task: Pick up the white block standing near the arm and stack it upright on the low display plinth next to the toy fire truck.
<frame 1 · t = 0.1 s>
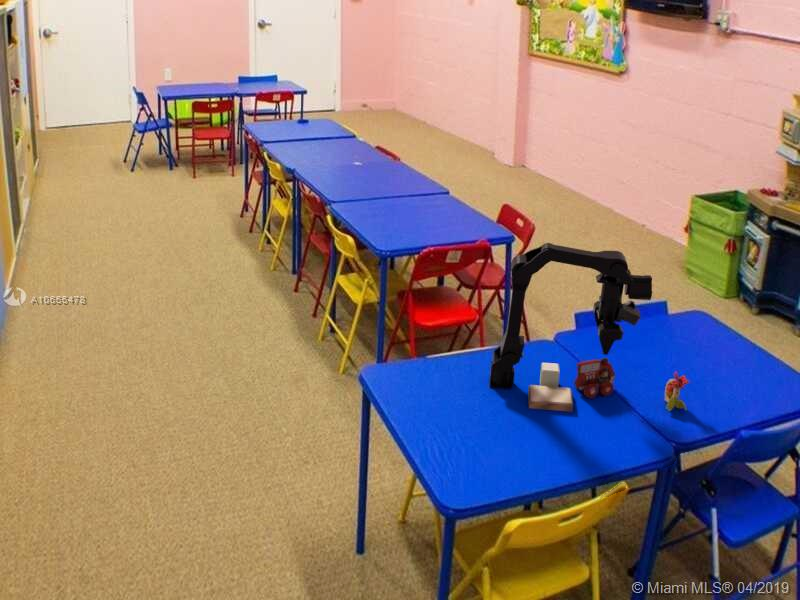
hand: (603, 346, 239), 15 cm above the table, fingers open, 9 cm apart
plinth: (549, 401, 239), on the table
toy fire truck: (593, 391, 245), on the table
white block: (548, 385, 247), on the table
bird rattle: (670, 406, 239), on the table
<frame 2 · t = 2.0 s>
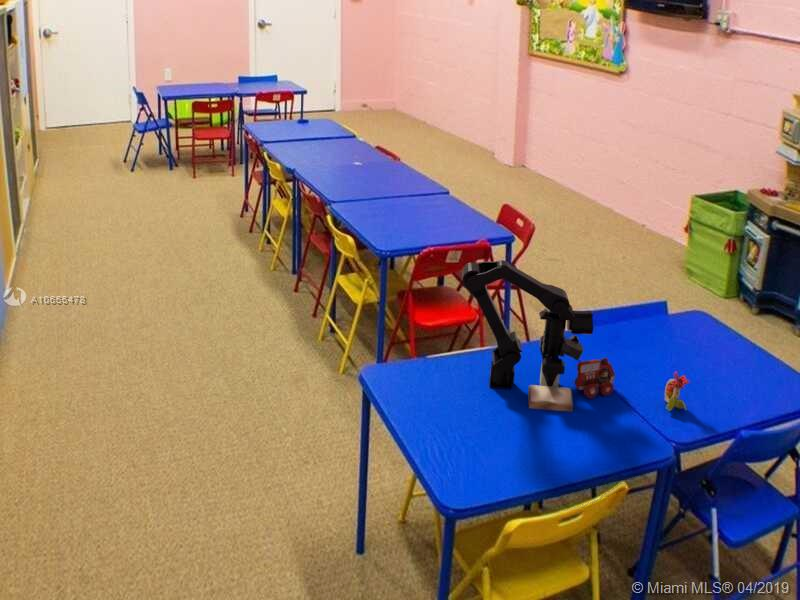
hand: (549, 379, 247), 2 cm above the table, fingers open, 8 cm apart
nothing on the table moved.
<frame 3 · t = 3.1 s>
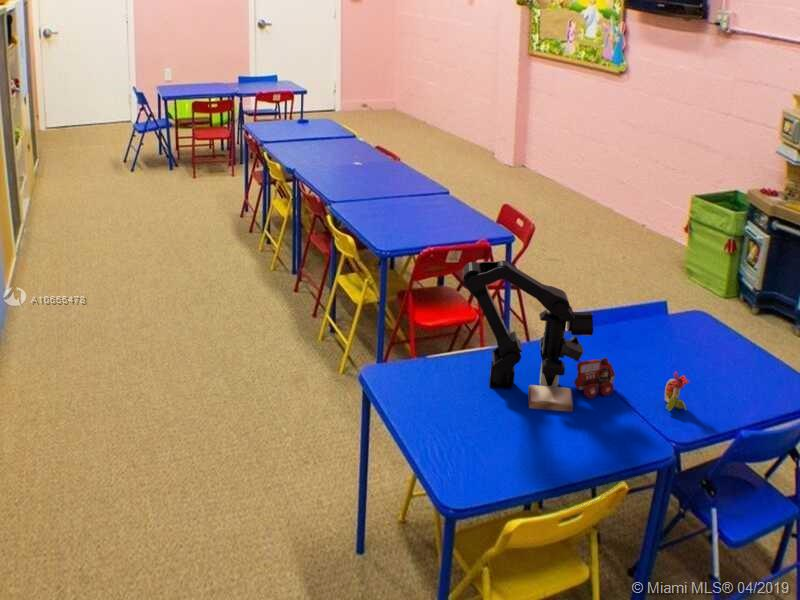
hand: (549, 380, 247), 2 cm above the table, fingers closed on white block, 5 cm apart
white block: (548, 385, 247), on the table, touching gripper
everything else where it was.
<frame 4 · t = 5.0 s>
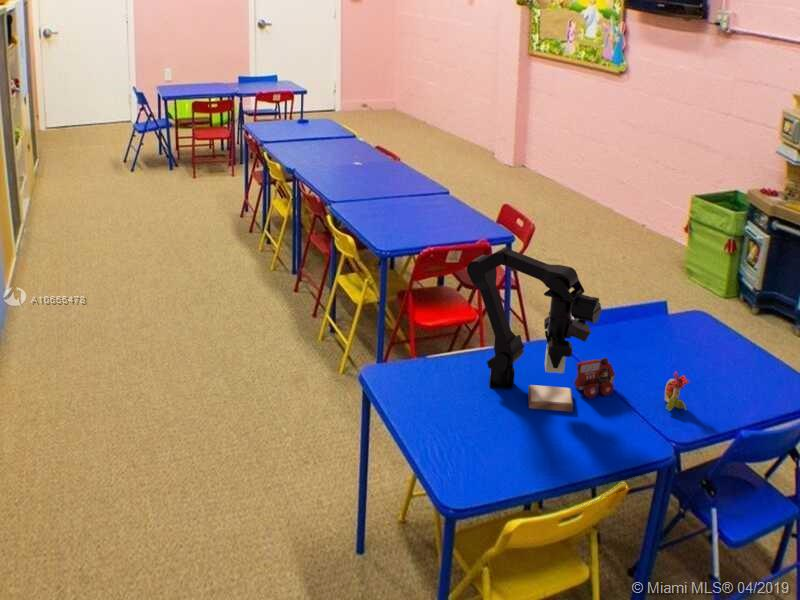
hand: (554, 363, 235), 12 cm above the table, fingers closed on white block, 5 cm apart
white block: (554, 368, 235), point 10 cm above the table, touching gripper
everything else where it was.
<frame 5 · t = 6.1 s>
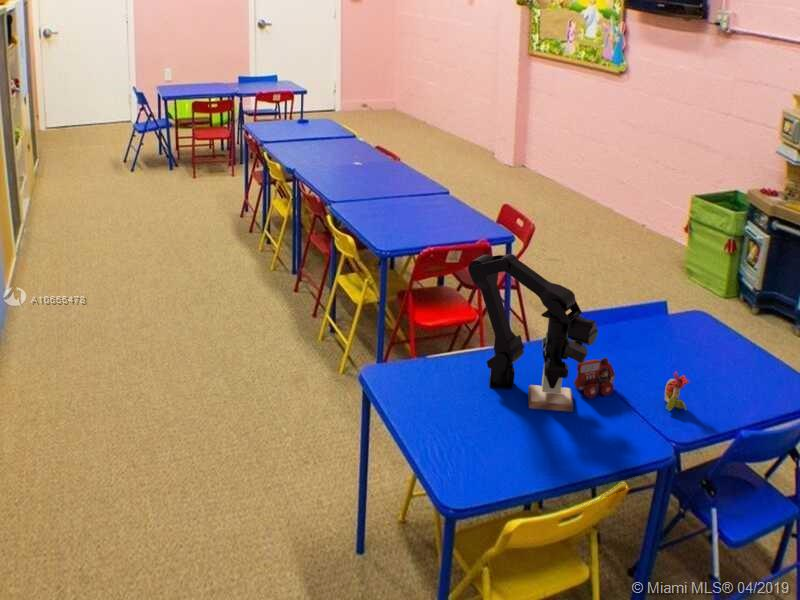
hand: (551, 383, 237), 6 cm above the table, fingers closed on white block, 5 cm apart
white block: (551, 388, 238), point 4 cm above the table, touching gripper
everything else where it was.
when the fingers open (5 cm above the table, at t = 7.1 s): white block stays where it is, resting on plinth.
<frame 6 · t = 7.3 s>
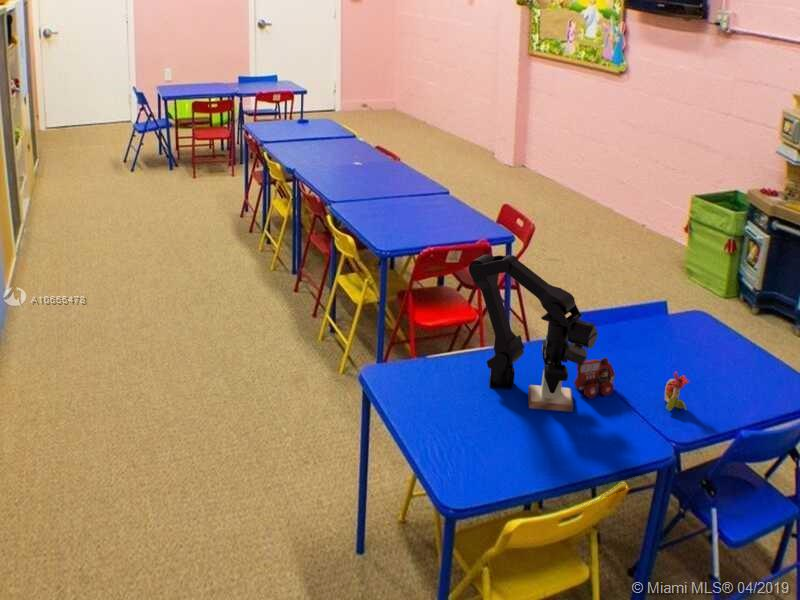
hand: (551, 386, 237), 5 cm above the table, fingers open, 7 cm apart
white block: (550, 393, 238), point 2 cm above the table, touching plinth
everything else where it was.
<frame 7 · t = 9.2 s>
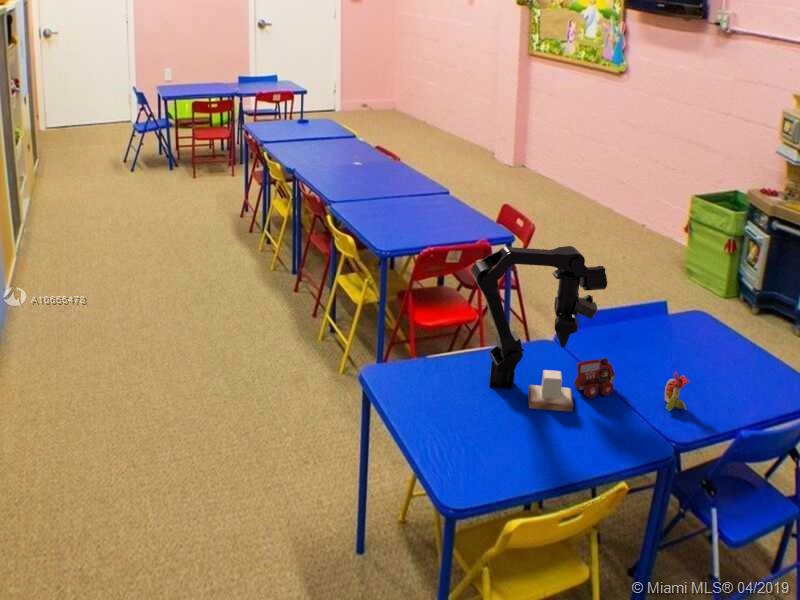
hand: (562, 339, 245), 13 cm above the table, fingers open, 9 cm apart
nothing on the table moved.
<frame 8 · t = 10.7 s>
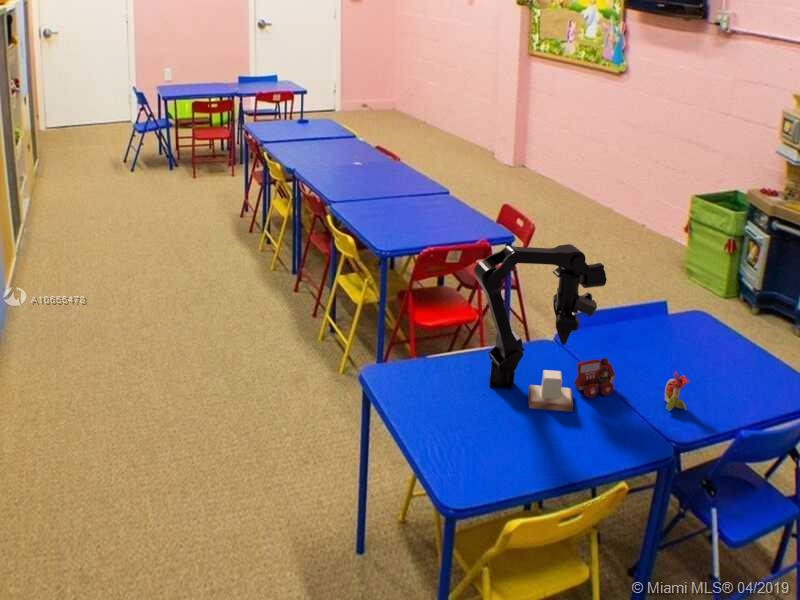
hand: (562, 337, 247), 13 cm above the table, fingers open, 9 cm apart
nothing on the table moved.
at the end: white block inside the target area on the plinth (0.1 cm from its centre), point 2.5 cm above the plinth's base; white block tilted 0°; the gripper is holding nothing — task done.
